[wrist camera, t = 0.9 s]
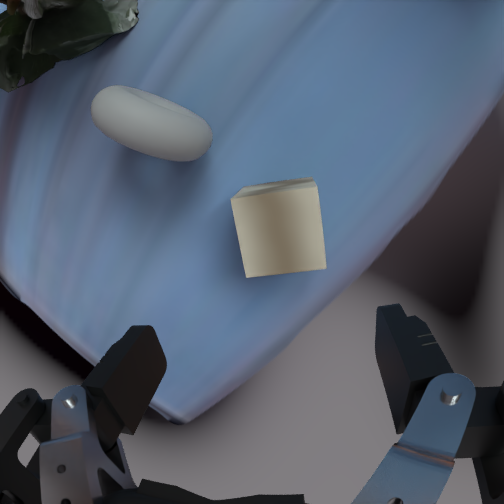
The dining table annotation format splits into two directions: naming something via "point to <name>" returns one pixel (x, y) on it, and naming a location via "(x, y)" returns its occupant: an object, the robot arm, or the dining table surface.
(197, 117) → the donut
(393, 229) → the dining table surface
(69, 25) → the rose bouquet
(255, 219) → the birch cube
